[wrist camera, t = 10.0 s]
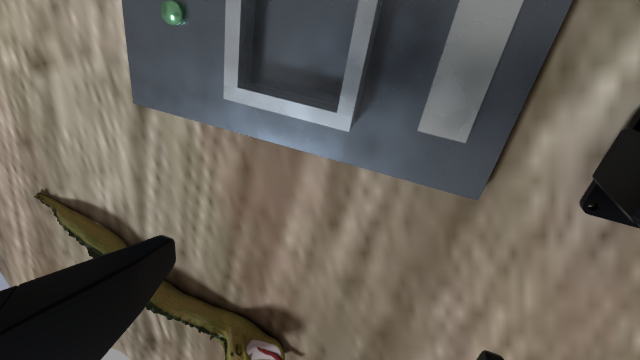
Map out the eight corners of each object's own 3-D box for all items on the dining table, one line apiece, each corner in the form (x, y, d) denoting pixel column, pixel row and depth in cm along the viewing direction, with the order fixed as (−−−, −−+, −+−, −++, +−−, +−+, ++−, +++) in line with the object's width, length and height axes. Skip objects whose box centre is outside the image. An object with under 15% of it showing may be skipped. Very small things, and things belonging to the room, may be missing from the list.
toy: (287, 369, 32) (265, 424, 28) (39, 208, 33) (-21, 238, 28) (307, 348, 30) (287, 404, 26) (40, 174, 30) (-24, 201, 26)
